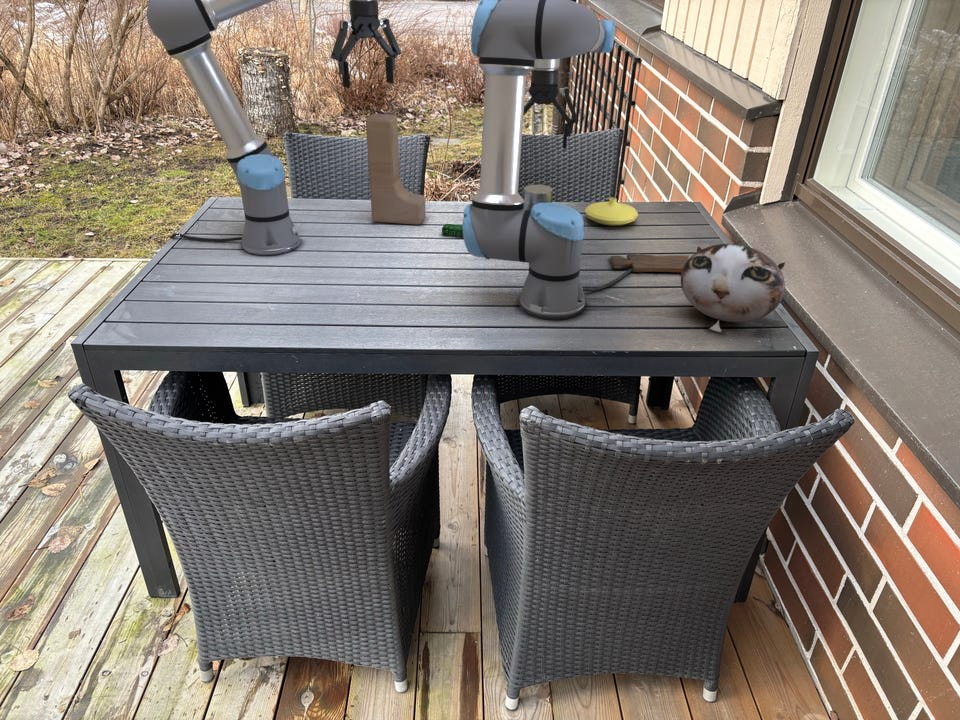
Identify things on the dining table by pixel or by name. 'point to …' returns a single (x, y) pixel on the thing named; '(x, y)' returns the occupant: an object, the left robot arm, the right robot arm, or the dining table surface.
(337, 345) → the dining table surface
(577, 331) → the dining table surface
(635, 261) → the dark wooden board
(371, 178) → the decorative block
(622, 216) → the yellow knobbed lid
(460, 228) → the handgun
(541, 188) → the can
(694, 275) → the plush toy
